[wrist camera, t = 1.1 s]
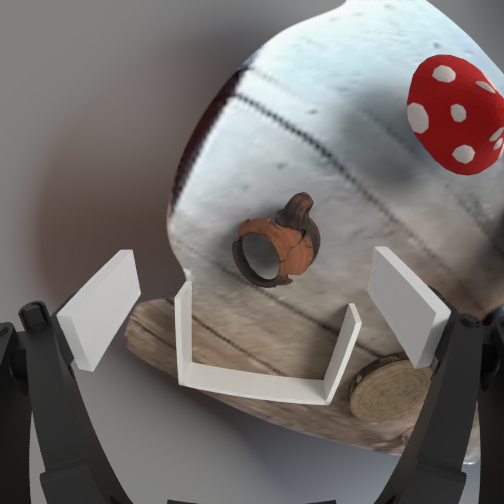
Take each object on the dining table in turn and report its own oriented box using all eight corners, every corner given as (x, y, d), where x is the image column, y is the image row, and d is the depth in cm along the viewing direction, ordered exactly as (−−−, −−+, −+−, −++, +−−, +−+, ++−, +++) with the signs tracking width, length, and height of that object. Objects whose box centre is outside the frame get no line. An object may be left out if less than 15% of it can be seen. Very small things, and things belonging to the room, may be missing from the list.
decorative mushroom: (485, 118, 27) (557, 118, 13) (444, 191, 32) (515, 220, 18) (414, 48, 26) (473, 10, 12) (366, 122, 30) (420, 108, 16)
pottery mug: (310, 279, 39) (278, 310, 33) (256, 242, 42) (217, 265, 36) (348, 202, 32) (319, 221, 26) (281, 166, 35) (239, 176, 29)
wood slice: (444, 359, 41) (450, 370, 38) (395, 415, 47) (398, 425, 44) (379, 340, 41) (384, 352, 38) (331, 404, 46) (333, 416, 44)
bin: (354, 303, 39) (361, 323, 34) (326, 383, 44) (329, 405, 39) (186, 280, 40) (174, 297, 35) (187, 364, 46) (178, 384, 41)
